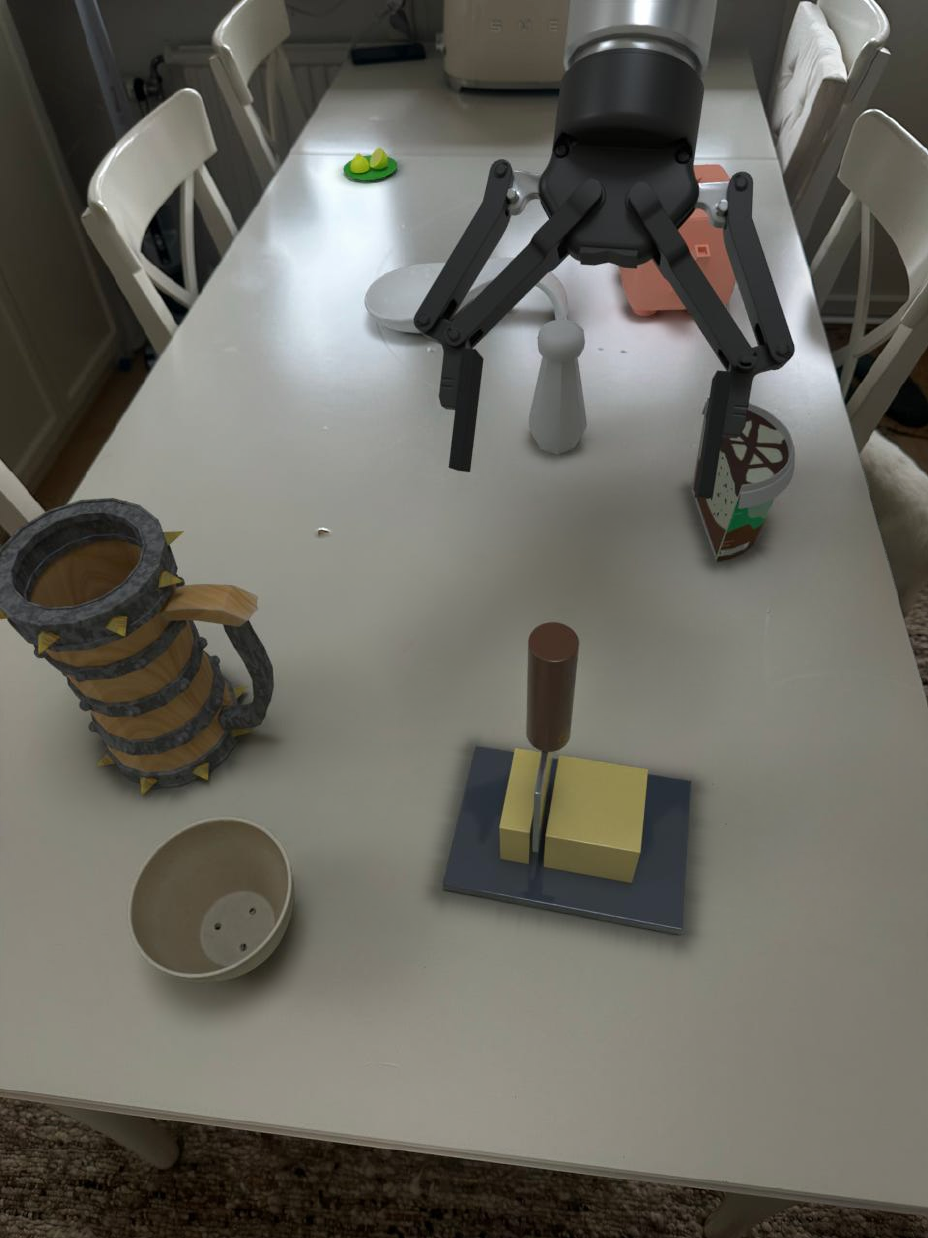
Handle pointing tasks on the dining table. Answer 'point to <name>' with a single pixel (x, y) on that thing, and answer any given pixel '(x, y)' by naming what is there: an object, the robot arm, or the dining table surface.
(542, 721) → the knife
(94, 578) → the mug
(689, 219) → the teapot
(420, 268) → the spoon rest
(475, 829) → the butter dish
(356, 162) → the lemon
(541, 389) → the salt shaker
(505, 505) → the dining table surface
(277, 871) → the flower pot
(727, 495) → the food container
